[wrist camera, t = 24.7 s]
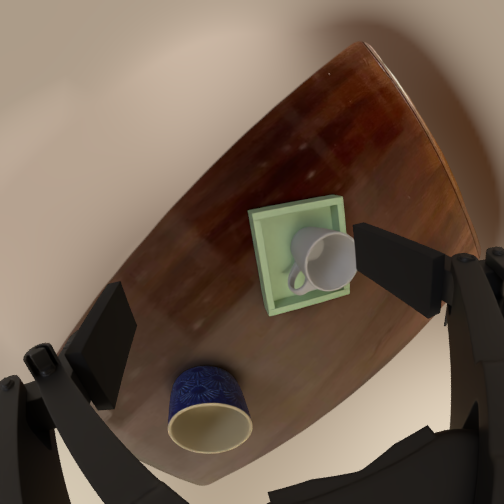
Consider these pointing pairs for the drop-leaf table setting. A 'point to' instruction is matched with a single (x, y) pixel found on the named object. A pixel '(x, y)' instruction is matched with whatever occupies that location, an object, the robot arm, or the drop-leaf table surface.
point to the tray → (279, 248)
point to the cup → (322, 259)
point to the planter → (208, 411)
